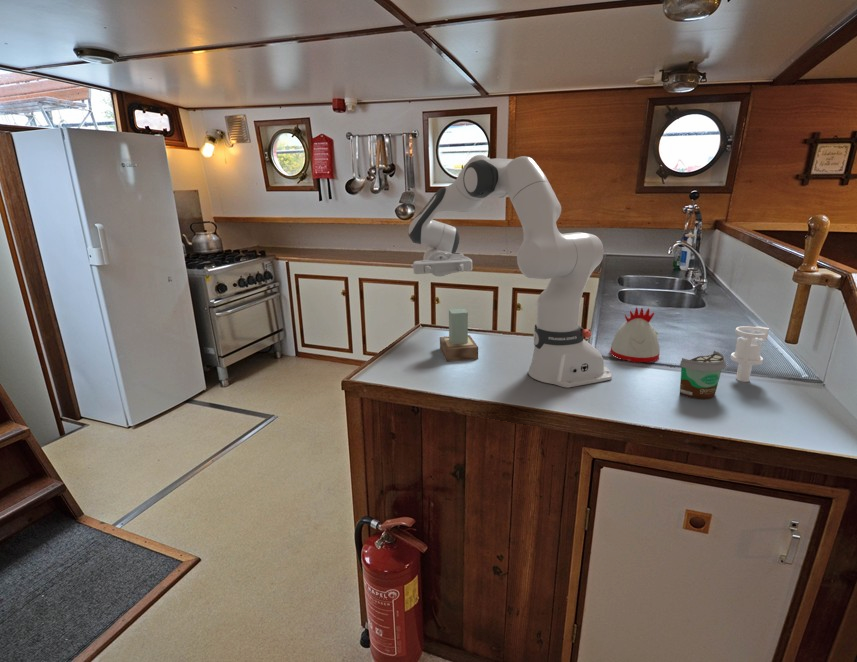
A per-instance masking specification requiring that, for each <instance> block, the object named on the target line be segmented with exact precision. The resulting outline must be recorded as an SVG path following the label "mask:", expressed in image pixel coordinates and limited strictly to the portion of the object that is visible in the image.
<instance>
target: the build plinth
mask: <svg viewBox="0 0 857 662" xmlns="http://www.w3.org/2000/svg"><path fill="white" fill-rule="evenodd" d="M439 349H441V350H440V352H441V354H442V356H443V359H445V362H457V361H469V360H470V361H471V360H479V346H478V345H477V343H476V341H475V340H474V339H473V338H472V337H471V335H470V334H468V343H466V344H451V342H450V340H449V336H441V337H439Z"/></svg>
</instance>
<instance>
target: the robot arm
mask: <svg viewBox="0 0 857 662" xmlns="http://www.w3.org/2000/svg"><path fill="white" fill-rule="evenodd" d="M550 183H551V182H549V179H548V178H547V175H546V174H545V173H544V172H543V170H542V169H541V167H540V166H539V165H538V164H537V162H536V161H535V160H534V159H533V158H532V157H530V156H526V155H523V156H518V157H515V158H500V157H496V158H490V157H488V156H487V155H483V154H476V155H474V156H472V157H471V158H470V159H469V160H468V161H466V163H465V165H464V166H463V167H462V169H461V170H460V172H459V174H458V175H457V177H456V179H455V180H454V181H453V183H450V184H449V185H447V186H445V187H441V188H439V189H438V190H437V191H436V192H435V193H434V195H433V196H432V197H431V198H430V199H429V201H427V203H426V205H424V207H423V209H421V211H420V212H419V213H418V214H417V215H415V216H414V218H413V219H412V220H411V222H410V224H409V227H408V237H409V239H410V240H411V242H412V243H414V244H418V245H422V246H425V247H429V248H428V249H426V250H425V252H424V253H423V258H422V260H415V261H413V263H412V264H410V267H411V268H412V269H413V274H414V275H424V274H425V275H428V274H431V275H433V276H435V277H445V276H446V275H451V274H455V273H461V272H471V271H473V259H471V258H470V257H469V256H465V255H464V253H461V252H457V250H458V248H459V247H458V246H459V244H460V234H459V231H458V229H457V227H455V226H453V225H450V224H447V223H444V222H441V221H438V220H435V219H434V218H435V217H436V216H437V214H438V213H440V212H458V213H468V212H472V211H475V210H476V209H477V208H479V207H480V206H481V205H482V203H483V202H484V201H485V199H486V198H488V199H490V198H491V199H492V198H493V199H495V198H497V199H502V198H503V199H504V198H509V200H510V202H511V204H512V207H513V208H514V210H515V213H516V215H517V217H518V220H519V222H520V224H521V227H522V232H523V240H522V243H521V245H520V246H519V249H518V250H517V253H516V254H517V255H516V261H517V262H516V264H517V267H518V269H519V270H520V271H519V272H521V274H522V275H523V276H524V277H526V278H528V279H533V280H549V279H550V281H549V283H548V285H547V286H546V288H545V289H544V290H543V291H542V292H541V293H540V294H539V295H538V297H537V301H536V305H537V306H536V324H535V325H534V329H533V330H534V331H533V345H534V347H533V354H532V359H531V362H530V365H529V369H528V371H527V373H528V375H529V376H530V377H531V378H532V379H534V380H536V381H539V382H542V383H545V384H553V385H557V386H559V387H562V388H572V387H578V386H583V385H584V386H585V385H589V384H594V383H595V384H596V383H601V382H605V381H611V380H612V378H613V375H612V372H611V370H610V369H609V368H608V367H607V366H606V365H605V364H604V357H603V355H602V353H601V352H600V350H598V349H597V348H596V347H594V346H593V345H592V344H590V343H589V342H588V341H587V340H586V339H590V338H591V336H592V331H590V330H589V329H587V328H585V329H584V328H583V327H582V326H580V325H579V320H580V319H579V318H580V309H581V303H582V297H583V293H584V291H585V288H586V286H587V283H588V281H589V279H590V277H591V275H592V274H593V272H594V271H595V269H596V268H597V267H598V266H599V265H600V264H601V263H602V261H603V259H604V254H605V249H604V245H603V242H602V240H601V239H600V237H598V236H597V235H595V234H592V233H588V232H581V231H575V232H568V233H561V232H560V231H559V229H558V226H557V221H558V220H559V218H560V216H561V213H562V205H561V203H560V201H559V199H558V198H557V196H556V195H557V194H556V193H555V191H554V189H553V188H552V185H551V184H550ZM584 338H586V339H584Z"/></svg>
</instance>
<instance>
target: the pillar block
mask: <svg viewBox="0 0 857 662" xmlns="http://www.w3.org/2000/svg"><path fill="white" fill-rule="evenodd" d="M468 315H469V314H468V311H467V310H466V308H450V309H448V337H449V340H450V342H451V344H466V343H468V335H469V334H468V333H469V332H468V331H469V324H468V323H469V321H468V320H469V319H468Z"/></svg>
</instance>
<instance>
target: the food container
mask: <svg viewBox="0 0 857 662" xmlns="http://www.w3.org/2000/svg"><path fill="white" fill-rule="evenodd" d="M726 366H727V363H726V359H725V356H724V355H723V354H722V353H720V352H719V351H716V350H713V354H709V355H699V356H697V357H694V358H691V359H687V358H684V357H682V358H681V361H680V363H679V367H681V369H680V370H681V371H680V384H679V385H680V386H679V395H680V396H683V397H686V398H689V399H695V400H710V399H713V398H715V396H716V392H717V387H718V386H719V381H720V378H721V373H722V371H723V370H724V369H725V368H727V367H726Z"/></svg>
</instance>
